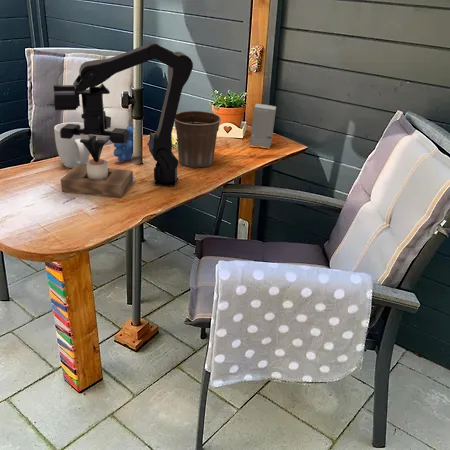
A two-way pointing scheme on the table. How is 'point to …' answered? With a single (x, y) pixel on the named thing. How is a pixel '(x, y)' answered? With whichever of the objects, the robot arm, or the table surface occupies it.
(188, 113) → the plant pot
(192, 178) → the table surface
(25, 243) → the table surface
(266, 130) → the skincare box
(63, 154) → the mug
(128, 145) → the grapes
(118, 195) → the brown wooden block
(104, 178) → the cream short cylinder
